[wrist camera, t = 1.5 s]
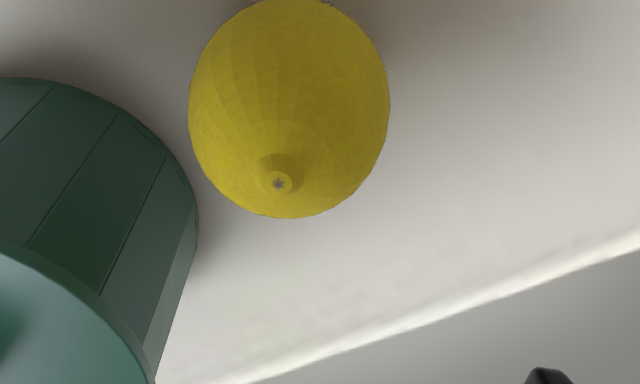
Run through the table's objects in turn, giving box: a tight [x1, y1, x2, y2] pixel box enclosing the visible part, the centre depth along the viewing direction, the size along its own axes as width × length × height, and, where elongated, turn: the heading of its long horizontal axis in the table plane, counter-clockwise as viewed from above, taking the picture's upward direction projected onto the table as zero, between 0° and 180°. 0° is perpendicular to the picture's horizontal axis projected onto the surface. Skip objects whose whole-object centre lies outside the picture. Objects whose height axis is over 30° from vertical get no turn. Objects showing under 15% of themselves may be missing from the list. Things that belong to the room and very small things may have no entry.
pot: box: [0, 78, 198, 379], centre depth 20 cm, size 11×11×8 cm
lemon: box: [188, 0, 390, 219], centre depth 16 cm, size 6×6×8 cm
